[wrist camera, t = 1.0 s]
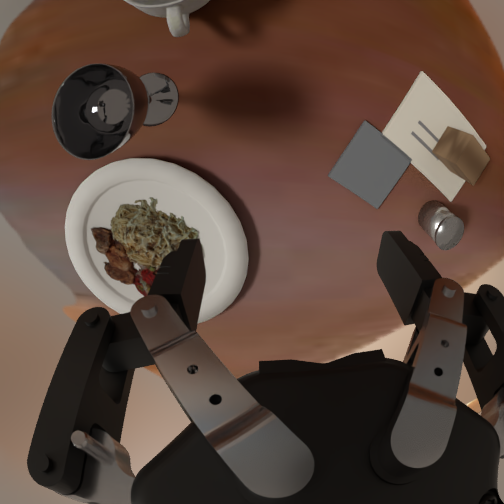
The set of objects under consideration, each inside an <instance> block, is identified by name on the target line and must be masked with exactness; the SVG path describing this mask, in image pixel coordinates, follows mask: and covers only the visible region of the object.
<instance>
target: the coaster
mask: <svg viewBox="0 0 504 504" xmlns="http://www.w3.org/2000/svg"><path fill="white" fill-rule="evenodd" d="M382 135H383V134H382V133H381V132H379V131H378V130H377V129H376V128H374V127H373V126H372V125H370V124H369V123H368V122H367V121H365V120H364V122H363V123H362V125H361V126H360V128H359V129H358V131H357V132H356V134H355V135H354V137H353V138H352V140H351V141H350V143H349V144H348V146H347V147H346V149H345V150H344V152H343V153H342V155H341V156H340V158H339V159H338V161H337V162H336V164H335V165H334V167H333V168H332V170H331V171H330V173H329V174H328V177H330V178H332V179H333V180H335V181H336V182H338V183H339V184H341V185H343V186H344V187H346V188H347V189H349V190H350V191H352V192H353V193H355V194H356V195H358V196H359V197H361V198H362V199H364V200H365V201H366V202H368V203H369V204H371V205H372V206H374V207H375V208H376V209H378V208H379V206H380V205H381V203H382V202H383V201H384V199H385V198H386V197H387V195H388V194H389V192H390V191H391V190H392V188H393V187H394V185H395V184H396V183H397V181H398V180H399V178H400V177H401V175H402V174H403V173H404V171H405V170H406V168H407V167H408V165H409V164H410V162H411V161H412V159H411V158H409V156H408V155H407V154H406V153H405V154H403V153H404V152H403V151H401V150H400V152H399V149H400V148H399V147H398V146H396V147H394V146H395V145H394V143H393V142H392V141H390V140H387V139H388V138H387V137H386V136H384V135H383V137H384V139H383V138H381V137H382ZM385 137H386V138H385ZM385 140H386V141H385ZM388 142H392V143H390V144H389V143H388ZM393 145H394V146H393ZM396 148H397V149H396ZM398 148H399V149H398ZM397 150H398V151H397ZM401 152H403V153H401ZM402 154H403V155H402ZM404 155H405V156H404ZM406 156H407V157H408V158H407V157H406ZM405 157H406V158H405ZM407 159H408V160H407ZM410 160H411V161H410Z"/></svg>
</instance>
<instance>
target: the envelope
mask: <svg viewBox="0 0 504 504" xmlns="http://www.w3.org/2000/svg"><path fill="white" fill-rule="evenodd" d="M447 126H449V127H452V128H455V129H458V130H461V131H463V132H466V133H469V134H471V135H474V137H475V138H476V139H477V141H478V142H479V144H480V145H481V146H482V148H483V149H484V150H485V148H486V145H485V144H484V142H483V141H482V139H481V138H480V137H479V135H478V134H477V133H476V131H475V130H474V129H473V127H472V126H471V125H470V123H469V122H468V121H467V120H466V118H465V117H464V116H463V115H462V113H461V112H460V111H459V110H458V109H457V107H456V106H455V105H454V104H453V103H452V102H451V101H450V99H449V98H448V97H447V96H446V95H445V94H444V93H443V92H442V91H441V89H440V88H439V87H438V86H437V85H436V84H435V83H434V82H433V81H432V80H431V79H430V78H429V77H428V76H427V75H426V74H425V73H424V72H423V71H421V72H420V74H419V75H418V77H417V79H416V80H415V82H414V83H413V85H412V87H411V88H410V90H409V91H408V93H407V95H406V96H405V98H404V99H403V101H402V103H401V104H400V106H399V107H398V109H397V110H396V112H395V114H394V115H393V117H392V118H391V120H390V121H389V123H388V124H387V126H386V127H385V129H384V130H383V132H382V134H383V135H384V136H386V137H387V138H388V139H387V140H390V141H392V142H393V143H394V145H395V146H394V145H393V146H394V147H396V146H398V147H399V148H400V149H399V148H398V149H399V152H400V150H401V151H403V152H404V153H403V152H401V153H403V154H405V153H406V154H407V155H408V156H409V158H411V159H412V161H411V160H410V161H411V162H410V163H411V164H413V165H414V166H415V167H416V168H417V169H418V170H419V171H420V172H421V173H422V174H423V175H424V176H425V177H426V178H427V179H429V180H430V181H431V182H432V183H433V184H434V185H435V186H436V187H437V188H438V189H439V190H440V191H441V192H442V193H443V195H444V196H445V197H446V198H447V199H448V200H449V201H450V202H451V201H452V200H453V199H454V197H455V196H456V194H457V193H458V191H459V190H460V188H461V187H462V185H463V184H464V182H465V180H464V179H462V178H460V177H459V176H457V175H455V174H454V173H452V172H450V171H449V170H448V168H447V167H446V166H445V165H444V164H443V163H442V162H441V161H440V160H439V159H438V158H437V157H436V156H435V155H434V154H433V153H432V150H433V149H434V147H435V146H436V144H437V142H438V141H439V139H440V138H441V136H442V134H443V133H444V131H445V130H446V128H447ZM383 135H382V137H381V138H383V139H384V137H383ZM386 137H385V138H386ZM385 141H386V140H385ZM392 142H388V143H389V144H390V143H392ZM396 149H397V148H396ZM397 151H398V150H397ZM403 154H402V155H403ZM404 156H405V155H404ZM406 157H407V156H406ZM406 157H405V158H406ZM407 158H408V157H407ZM407 160H408V159H407Z"/></svg>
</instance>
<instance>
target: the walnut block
mask: <svg viewBox="0 0 504 504" xmlns="http://www.w3.org/2000/svg"><path fill="white" fill-rule="evenodd" d="M432 153H433V154H434V155H435V156H436V157H437V158H438V159H439V160H440V161H441V162H442V163H443V164H444V165H445V166H446V167H447V168H448V170H449V171H450V172H452V173H454V174H455V175H457V176H459V177H460V178H462V179H464V180H465V181H467V182H468V183H470V184H471V185H473V186H474V184H475V183H476V181H477V180H478V178H479V176H480V175H481V173H482V172H483V170H484V168H485V167H486V165H487V163H488V161H489V160H490V158H489V156H488V155H487V153H486V152H485V151H484V149H483V148H482V146H481V145H480V144H479V142H478V141H477V139H476V138H475V137H474V135H471V134H469V133H466V132H463V131H461V130H458V129H455V128H452V127H449V126H447V128H446V130H445V131H444V133H443V134H442V136H441V138H440V139H439V141H438V142H437V144H436V146H435V147H434V149H433V150H432Z"/></svg>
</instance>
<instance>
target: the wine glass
mask: <svg viewBox="0 0 504 504" xmlns="http://www.w3.org/2000/svg"><path fill="white" fill-rule="evenodd" d="M177 104H178V91H177V88H176V85H175V84H174V82H173V81H172V80H171V79H170V78H169V77H167V76H165V75H163V74H160V73H148V74H145V75H142V76H140V77H138V76H137V75H136V74H134V73H133V72H132V71H130V70H127V69H125V68H123V67H120V66H116V65H110V64H90V65H86V66H83V67H81V68H79V69H77V70H75V71H74V72H73V73H71V74H70V75H69V76H68V77H67V78H66V79H65V80H64V82H63V83H62V84H61V86H60V88H59V89H58V91H57V93H56V96H55V99H54V102H53V107H52V125H53V130H54V133H55V136H56V138H57V140H58V142H59V143H60V145H61V146H62V147H63V148H64V149H65V150H66V151H67V152H68V153H69V154H71V155H73V156H74V157H77V158H80V159H85V160H93V159H98V158H101V157H104V156H106V155H108V154H110V153H112V152H114V151H115V150H117V149H119V148H120V147H122V146H123V145H124V144H126V143H127V142H128V141H129V140H130V139H131V138H132V137H133V136H134V135H135V134H136V133H137V132H138V131H139V129H140V128H141V127H142V125H143V126H156V125H159V124H162V123H164V122H165V121H167V120H168V119H169V118H170V117H171V116H172V114H173V113H174V111H175V109H176V107H177Z"/></svg>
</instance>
